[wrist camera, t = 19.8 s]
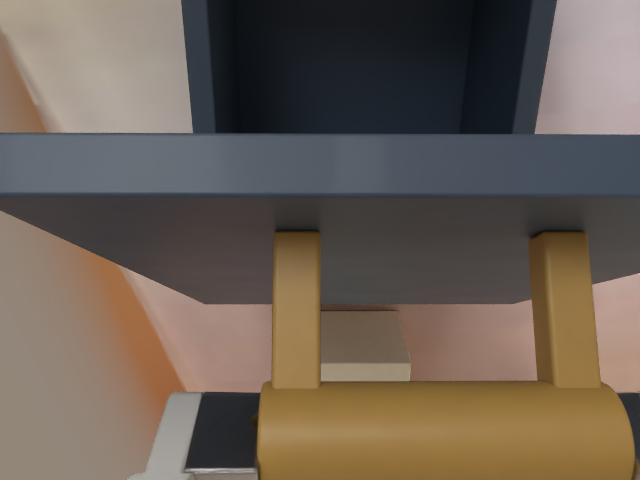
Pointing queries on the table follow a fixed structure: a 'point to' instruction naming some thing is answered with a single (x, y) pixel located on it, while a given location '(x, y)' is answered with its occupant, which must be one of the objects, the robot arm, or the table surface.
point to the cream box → (363, 346)
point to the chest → (366, 65)
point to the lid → (372, 276)
